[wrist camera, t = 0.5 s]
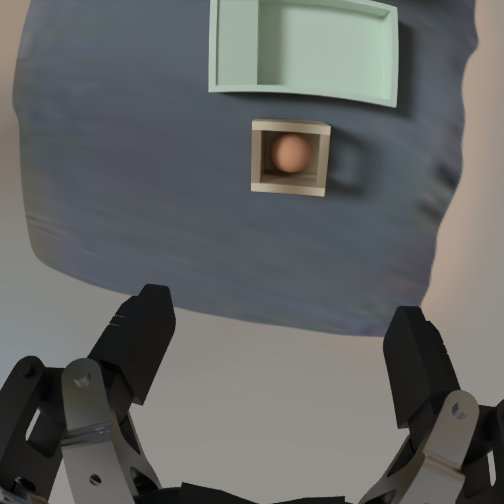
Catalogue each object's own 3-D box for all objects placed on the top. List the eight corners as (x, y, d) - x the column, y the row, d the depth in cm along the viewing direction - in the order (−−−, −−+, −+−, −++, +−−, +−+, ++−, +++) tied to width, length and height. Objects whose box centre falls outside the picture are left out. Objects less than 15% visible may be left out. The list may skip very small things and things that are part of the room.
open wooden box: (258, 174, 28) (251, 190, 23) (259, 117, 25) (252, 121, 20) (318, 178, 27) (324, 196, 22) (323, 121, 24) (330, 126, 19)
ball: (271, 129, 24) (270, 134, 21) (310, 132, 24) (314, 137, 21) (270, 166, 26) (268, 176, 23) (307, 168, 26) (311, 178, 23)
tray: (219, 2, 18) (210, -8, 16) (387, 15, 17) (396, 7, 14) (217, 92, 24) (208, 92, 21) (385, 106, 22) (396, 107, 19)
